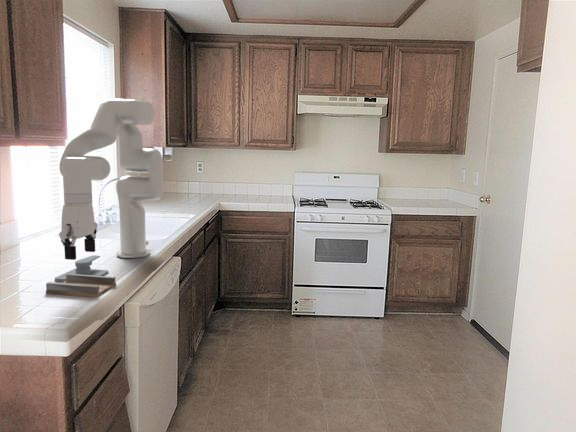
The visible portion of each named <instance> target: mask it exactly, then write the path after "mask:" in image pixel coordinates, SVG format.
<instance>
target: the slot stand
mask: <svg viewBox="0 0 576 432" xmlns="http://www.w3.org/2000/svg"><path fill="white" fill-rule="evenodd" d="M115 286H117V281H116V277H115V276H106V275H104V276H94V275H80V274H66V281H65V282H51V281H49V282H48V281H47V282H46V283H45V287H46V290H45V294H47V295H59V296H74V297H84V298H85V297H86V298H99V296H102V295H103V294H105V293H107V292H108V291H109V290H110V289H112V288H115Z"/></svg>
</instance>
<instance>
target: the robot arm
mask: <svg viewBox="0 0 576 432" xmlns="http://www.w3.org/2000/svg"><path fill="white" fill-rule="evenodd" d="M155 116H156V111H155V107H154V106H153V103H151V102H150V101H148V100H138V99H130V98H127V99H126V98H125V99H124V98H107V99H105V100H103V101H101V103H100V104H99V107H98V109H97V112H96V113H95V116H94V118H93V121H92V123H91V125H90V128H89V129H87V130H85V131H83V132H82V133H81V134H79V135H77V137H75V138H73V139H72V140H70V142H69V143H68V144H67V145H66V146H65V149H64V150H63V153H62V155H61V157H60V161H59V172H60V175H61V176H62V181H63V182H62V183H63V202H64V204H63V205H62V210H61V211H62V212H61V231H60V232H59V233H58V236H59V239H60V242H61V243H62V246H63V247H64V259H65V260H69V261H70V260H71V261H75V260H76V259H77V250H76V249H77V247H76V245H75V244H76V241H77V239H81V238H84V251H85V252H88V253H89V252H90V253H94V252H95V253H96V237H97V236H96V235H97V232H98V222H96V221H95V213H94V207H93V185H92V181H95V182H98V181H103V180H105V179H106V178H108V177H109V175H110V173H111V166H110V163H109V161H108V160H107V159H106V158H105V157H102V156H95V155H87V154H88V153H91V152H94V151H96V150H99V149H103V148H106V147H109V146H111V145H113V144H115V142H116V141H117V138H118V140H119V145H118V146H119V165H120V168H121V169H122V170H123V171H124V172H127V173H142V174H143V173H144V174H145V173H147V174H148V176H143V175H125V176H124V175H122V176H121V177H119V178H118V179H117V181H116V184H115V189H116V194H117V197H118V198H117V199H118V206H119V207H118V209H119V237H120V239H119V241H120V250H118V251H117V252H116V256H117V257H119V258H123V259H138V258H143V257H147V256H149V255H150V254H151V250H150V249H147V246H148V245H149V243H150V242H149V241H148V240H146V236H147V235H146V210H145V208H144V206H143V205H142V203H141V202H140V201H154V202H155V201H159V200H161V198H162V197H163V194H164V163H163V162H164V161H163V157H162V152H161V151H160V150H159V149H156V148H151V147H148V148H147V147H144V144H143V143H144V141H143V139H144V138H143V134H142V132H141V130H140V128H139V127H138V125H139V126H140V125H141V126H147V125H151V124H152V123H153V122H154V120H155V119H156V118H155Z"/></svg>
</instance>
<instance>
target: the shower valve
mask: <svg viewBox="0 0 576 432" xmlns="http://www.w3.org/2000/svg"><path fill="white" fill-rule="evenodd" d="M99 258H101V256H100V255H90V256H87V257H84V258H81V259H78V260H76V261H75V263H74V264H75V265H74V266H75V268H73V269H71V270H69V271H67V272H64V273H63V274H60V275H58V276H55V277H54V282H57V283H62V282H65V281H66V274H80V275H94V276H106V275H108V274H109V270H108V269H96V268H95V269H94V268H92V267H91V266H92V265H93V261H95V260H97V259H99Z"/></svg>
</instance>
